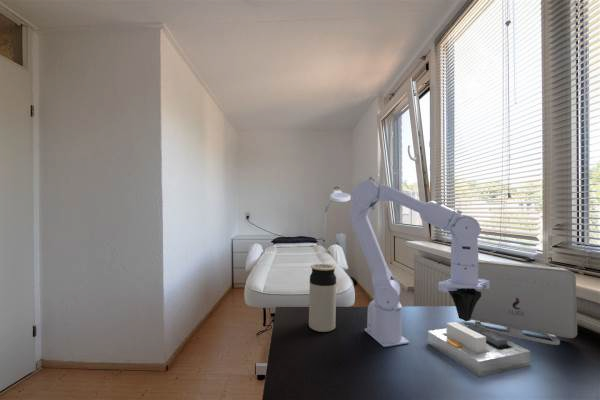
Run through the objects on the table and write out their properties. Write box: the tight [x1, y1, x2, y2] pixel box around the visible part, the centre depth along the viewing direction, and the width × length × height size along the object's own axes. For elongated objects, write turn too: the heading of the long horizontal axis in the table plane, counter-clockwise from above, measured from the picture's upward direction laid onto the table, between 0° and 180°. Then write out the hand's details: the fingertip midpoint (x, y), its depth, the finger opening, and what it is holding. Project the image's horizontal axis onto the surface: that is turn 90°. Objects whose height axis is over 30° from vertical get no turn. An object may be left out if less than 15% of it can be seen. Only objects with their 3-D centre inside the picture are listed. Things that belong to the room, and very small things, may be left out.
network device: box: [470, 259, 578, 346], centre depth 75 cm, size 26×9×20 cm, turn 62°
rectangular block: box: [446, 321, 486, 354], centre depth 61 cm, size 8×3×6 cm, turn 17°
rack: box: [427, 324, 532, 378], centre depth 62 cm, size 14×16×5 cm
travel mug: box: [308, 263, 337, 333], centre depth 75 cm, size 8×8×18 cm
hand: (464, 319), depth 61 cm, fingers closed
